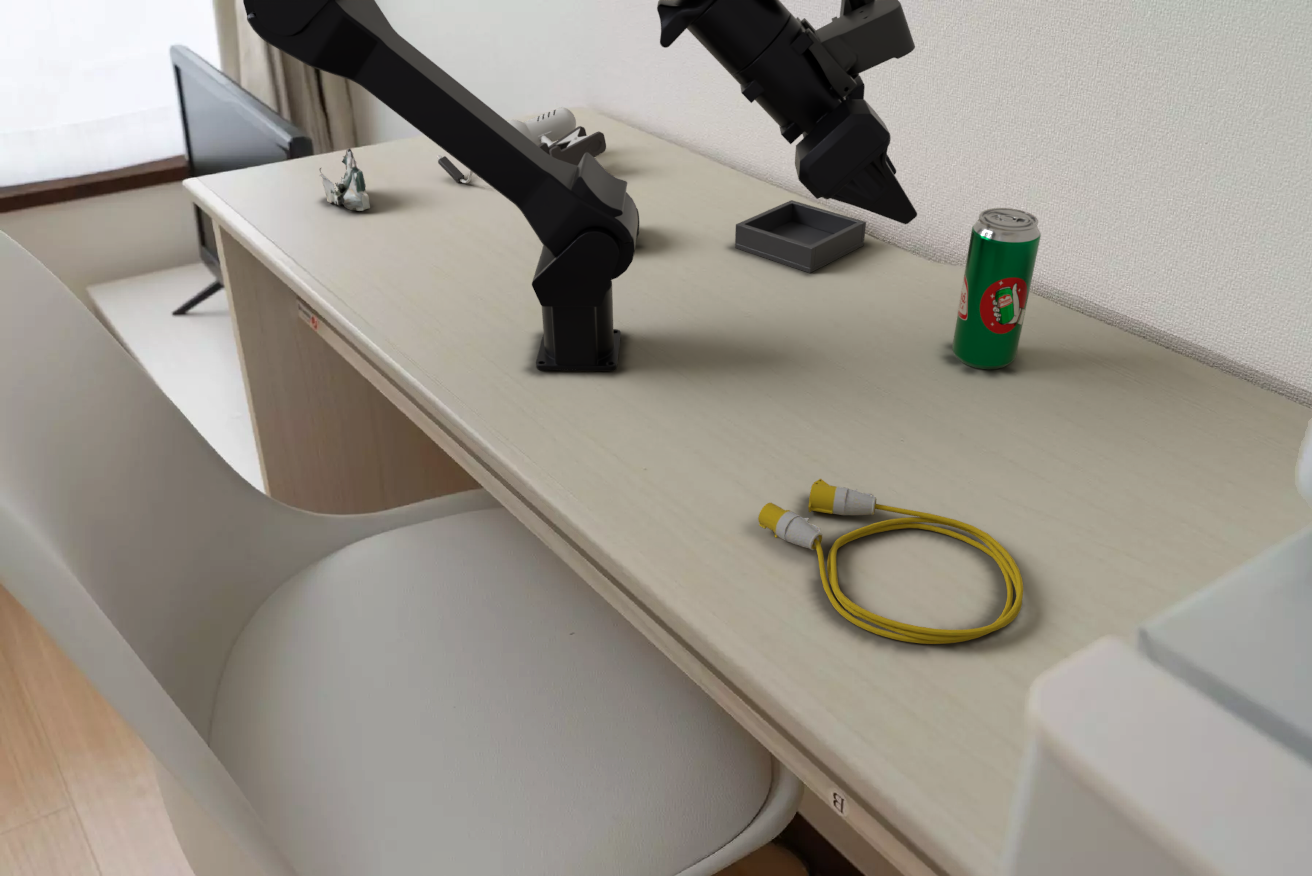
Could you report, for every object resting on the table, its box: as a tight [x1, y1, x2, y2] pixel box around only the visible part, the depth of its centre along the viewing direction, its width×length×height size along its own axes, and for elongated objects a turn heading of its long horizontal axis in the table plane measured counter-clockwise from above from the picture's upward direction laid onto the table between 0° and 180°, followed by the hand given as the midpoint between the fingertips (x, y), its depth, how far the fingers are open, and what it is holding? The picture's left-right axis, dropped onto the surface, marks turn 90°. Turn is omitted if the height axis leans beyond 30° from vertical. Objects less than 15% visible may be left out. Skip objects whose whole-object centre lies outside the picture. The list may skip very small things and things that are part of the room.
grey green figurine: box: [318, 147, 371, 212], centre depth 115 cm, size 4×8×7 cm, turn 31°
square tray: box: [734, 199, 867, 274], centre depth 106 cm, size 9×9×2 cm
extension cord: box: [757, 478, 1024, 645], centre depth 64 cm, size 12×16×2 cm
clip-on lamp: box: [436, 106, 607, 184], centre depth 124 cm, size 12×6×18 cm
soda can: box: [951, 207, 1042, 370], centre depth 84 cm, size 5×5×12 cm
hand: (901, 196), depth 80 cm, fingers open, 9 cm apart
